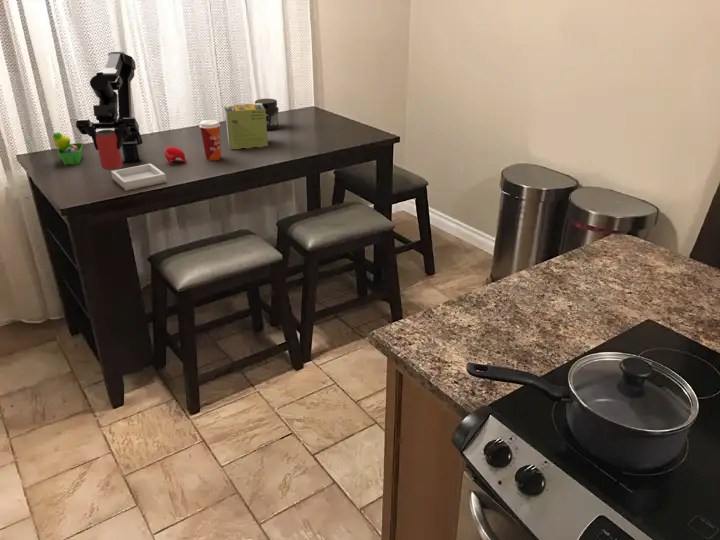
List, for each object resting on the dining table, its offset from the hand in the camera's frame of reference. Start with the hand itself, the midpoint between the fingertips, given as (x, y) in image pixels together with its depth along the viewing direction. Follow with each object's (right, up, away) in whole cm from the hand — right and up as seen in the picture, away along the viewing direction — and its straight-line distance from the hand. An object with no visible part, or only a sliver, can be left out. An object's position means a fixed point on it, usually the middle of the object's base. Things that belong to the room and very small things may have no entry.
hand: (107, 149), depth 199 cm
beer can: (0, -5, +5) cm, 7 cm away
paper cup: (+27, +3, +34) cm, 44 cm away
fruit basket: (-27, +2, +31) cm, 41 cm away
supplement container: (+42, +24, +73) cm, 87 cm away
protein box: (+37, +12, +50) cm, 63 cm away
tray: (+6, -9, +12) cm, 16 cm away
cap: (+13, +1, +30) cm, 33 cm away
